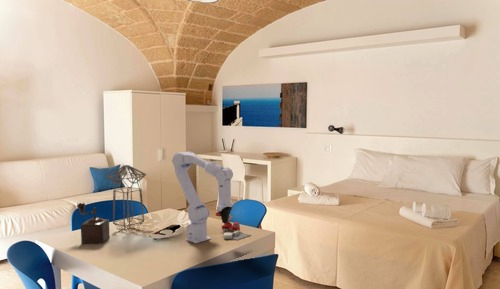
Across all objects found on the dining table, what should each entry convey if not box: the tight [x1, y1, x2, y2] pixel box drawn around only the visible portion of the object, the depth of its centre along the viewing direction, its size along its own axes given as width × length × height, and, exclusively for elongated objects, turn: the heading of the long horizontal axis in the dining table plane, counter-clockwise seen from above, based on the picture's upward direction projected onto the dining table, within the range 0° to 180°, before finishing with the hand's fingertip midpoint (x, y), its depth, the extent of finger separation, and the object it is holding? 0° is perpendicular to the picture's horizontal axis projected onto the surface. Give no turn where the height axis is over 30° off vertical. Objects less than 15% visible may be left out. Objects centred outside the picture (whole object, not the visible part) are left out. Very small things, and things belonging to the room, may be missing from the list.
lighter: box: [222, 231, 240, 240], centre depth 200 cm, size 7×2×8 cm
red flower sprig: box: [215, 211, 241, 232], centre depth 211 cm, size 3×14×10 cm, turn 58°
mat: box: [231, 231, 252, 241], centre depth 202 cm, size 10×10×1 cm
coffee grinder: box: [76, 202, 111, 245], centre depth 196 cm, size 16×11×18 cm
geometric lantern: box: [106, 164, 147, 233], centre depth 211 cm, size 16×16×35 cm
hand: (225, 222), depth 188 cm, fingers closed
